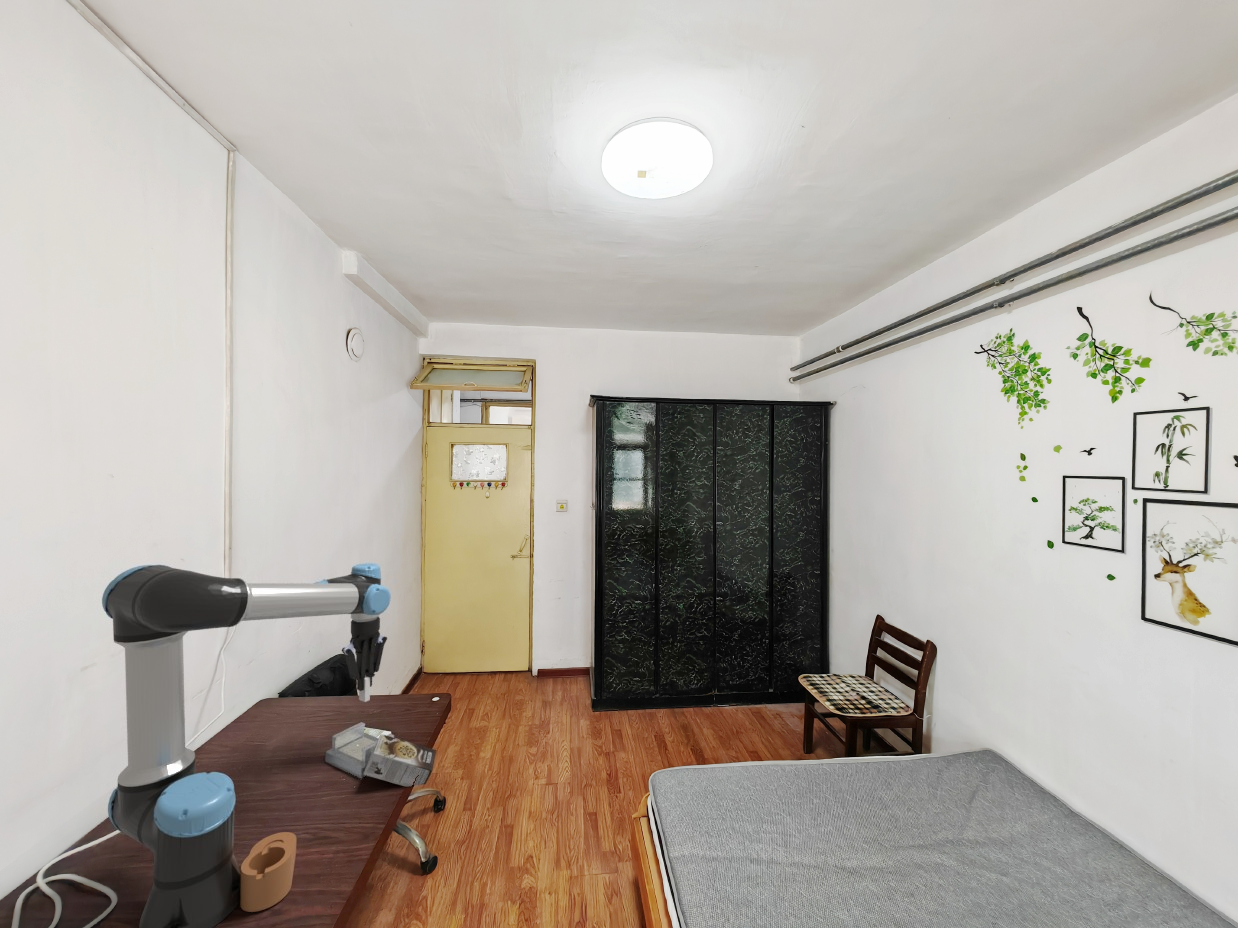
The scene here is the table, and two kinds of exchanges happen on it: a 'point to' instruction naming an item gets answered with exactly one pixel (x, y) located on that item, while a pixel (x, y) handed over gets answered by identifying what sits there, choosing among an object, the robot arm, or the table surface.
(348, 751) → the aluminum channel piece
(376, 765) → the coffee box
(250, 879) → the bracket
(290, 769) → the table surface
